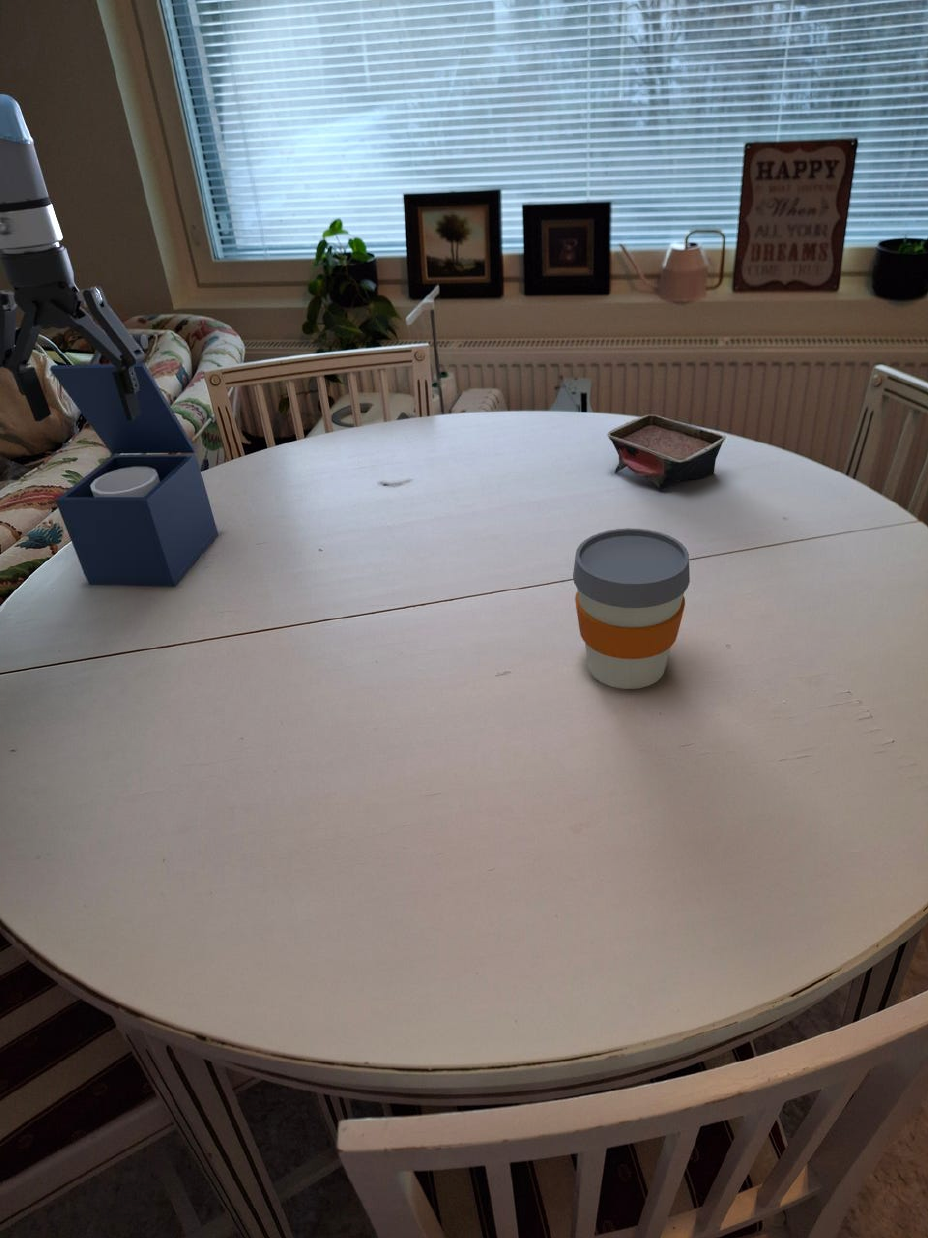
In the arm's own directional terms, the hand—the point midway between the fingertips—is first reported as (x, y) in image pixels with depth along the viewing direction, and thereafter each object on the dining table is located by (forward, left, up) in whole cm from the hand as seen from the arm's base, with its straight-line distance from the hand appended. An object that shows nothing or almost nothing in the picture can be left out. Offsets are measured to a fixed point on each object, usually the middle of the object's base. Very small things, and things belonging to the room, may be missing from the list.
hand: (88, 417), depth 109 cm
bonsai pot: (+79, +35, -25) cm, 90 cm away
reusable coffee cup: (+72, -19, -25) cm, 79 cm away
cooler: (0, +4, -24) cm, 25 cm away
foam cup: (0, +3, -24) cm, 24 cm away
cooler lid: (0, +8, -2) cm, 8 cm away
